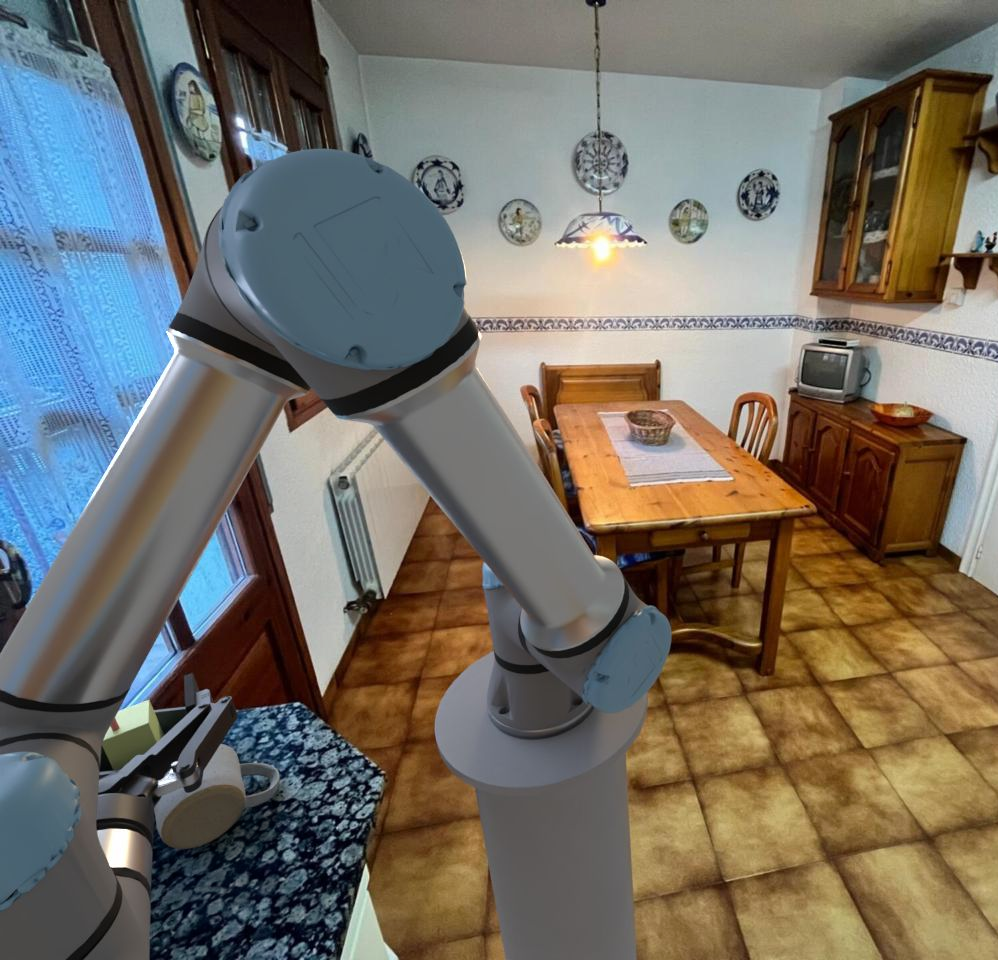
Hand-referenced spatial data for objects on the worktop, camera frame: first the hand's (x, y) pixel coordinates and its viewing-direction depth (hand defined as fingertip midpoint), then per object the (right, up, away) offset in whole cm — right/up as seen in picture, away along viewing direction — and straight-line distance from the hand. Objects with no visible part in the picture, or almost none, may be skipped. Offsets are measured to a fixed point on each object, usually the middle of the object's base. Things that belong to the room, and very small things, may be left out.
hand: (108, 715), depth 54 cm
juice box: (-4, -12, +9) cm, 16 cm away
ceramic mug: (+8, -14, +5) cm, 17 cm away
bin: (-4, -12, +10) cm, 16 cm away
